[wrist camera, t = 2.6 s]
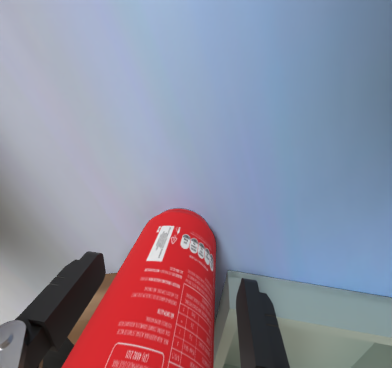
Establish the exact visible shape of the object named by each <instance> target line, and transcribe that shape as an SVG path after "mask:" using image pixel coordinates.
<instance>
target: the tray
mask: <svg viewBox="0 0 392 368" xmlns="http://www.w3.org/2000/svg"><path fill="white" fill-rule="evenodd" d="M242 278H246V279H252V280H256V281H257V283H258V287H259V292H262V293H267V295H268V297H269V298H270V300H271V301H272V303H273V306H274V309H275V313H276V318H277V321H278V324H279V328H280V332H281V335H282V339H283V343H284V347H285V350H286V354H287V358H288V362H289V365H290V368H392V298H391V297H385V296H379V295H373V294H367V293H361V292H355V291H349V290H343V289H337V288H331V287H325V286H319V285H313V284H307V283H301V282H295V281H290V280H284V279H278V278H272V277H266V276H260V275H254V274H248V273H242V272H236V271H230V270H228V272H227V276H226V280H225V284H224V288H223V292H222V296H221V300H220V304H219V308H218V312H217V316H216V320H215V324H214V363H213V368H241V363H240V351H239V339H238V327H237V315H236V296H237V293H238V289H239V286H240V283H241V279H242Z"/></svg>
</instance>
